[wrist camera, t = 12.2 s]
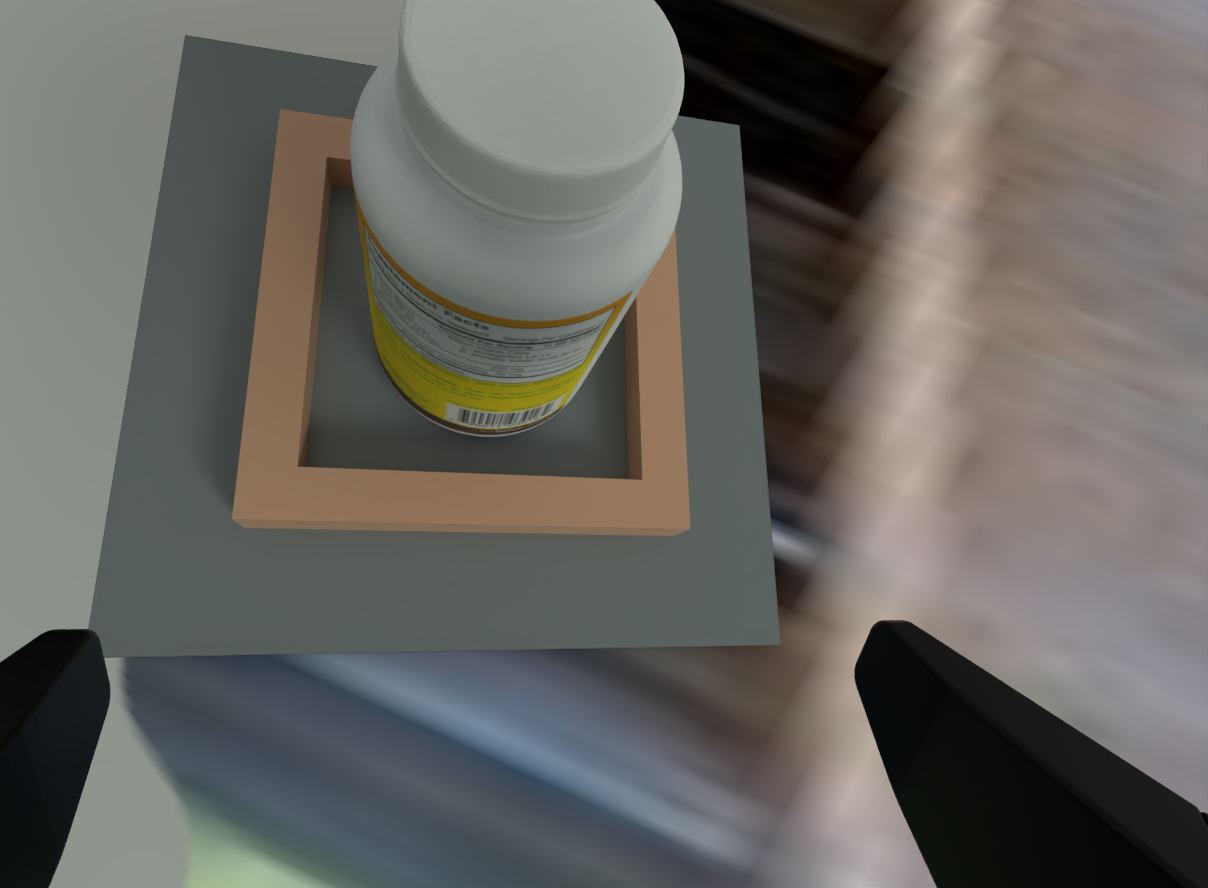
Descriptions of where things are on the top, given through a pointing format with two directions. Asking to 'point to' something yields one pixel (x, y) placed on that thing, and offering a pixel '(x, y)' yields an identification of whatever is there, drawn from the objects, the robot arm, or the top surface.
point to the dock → (413, 422)
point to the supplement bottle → (513, 197)
